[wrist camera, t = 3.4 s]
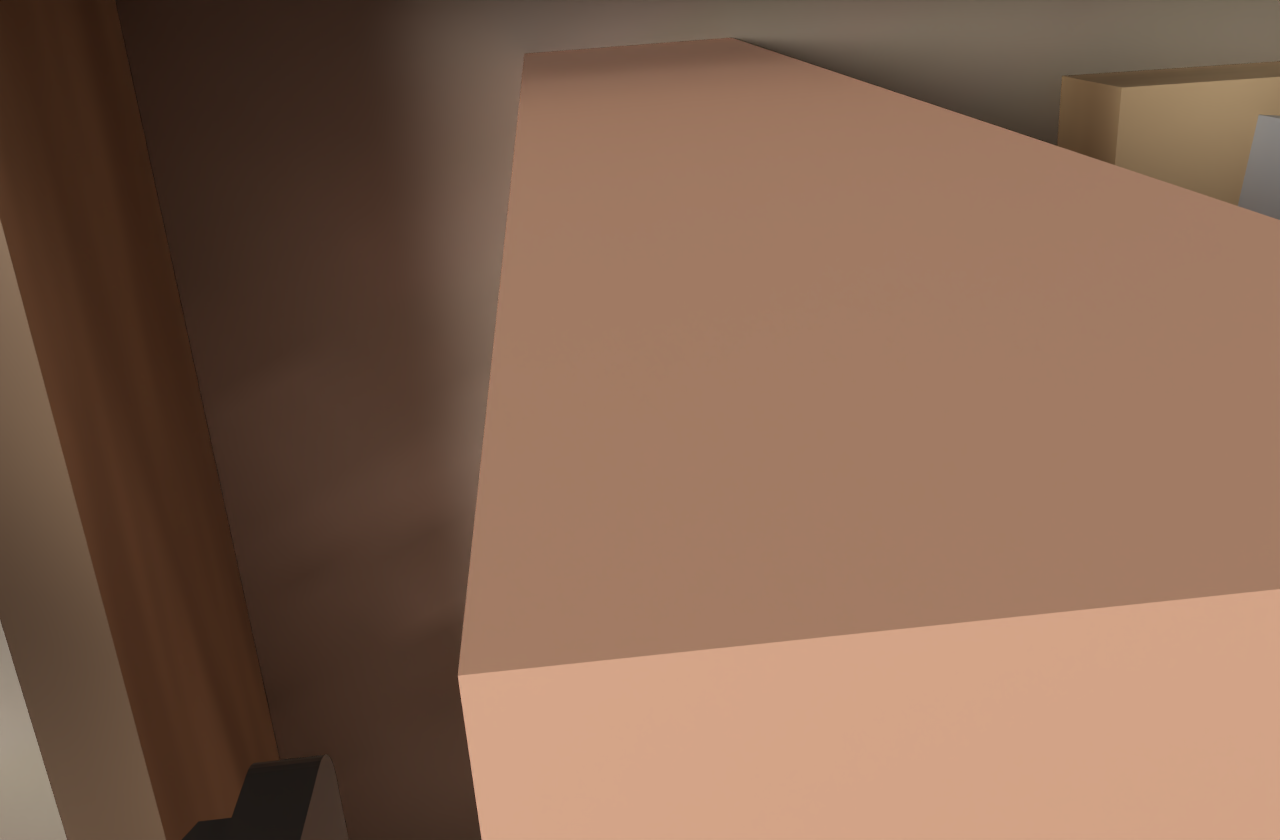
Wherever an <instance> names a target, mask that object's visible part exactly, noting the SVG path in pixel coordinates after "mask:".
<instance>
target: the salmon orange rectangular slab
mask: <svg viewBox="0 0 1280 840" xmlns="http://www.w3.org/2000/svg"><path fill="white" fill-rule="evenodd" d="M458 681H459V688H460V695H461V702H462V708H463V715H464V722H465V729H466V736H467V743H468V750H469V757H470V763H471V770H472V777H473V784H474V791H475V798H476V805H477V811H478V818H479V825H480V832H481V839H482V840H1280V220H1278V219H1275V218H1272V217H1269V216H1266V215H1263V214H1260V213H1257V212H1254V211H1251V210H1248V209H1245V208H1242V207H1239V206H1236V205H1233V204H1230V203H1227V202H1224V201H1221V200H1218V199H1215V198H1212V197H1209V196H1206V195H1203V194H1200V193H1197V192H1194V191H1191V190H1188V189H1185V188H1182V187H1179V186H1176V185H1173V184H1170V183H1167V182H1164V181H1161V180H1158V179H1155V178H1152V177H1149V176H1146V175H1143V174H1140V173H1137V172H1134V171H1131V170H1128V169H1125V168H1122V167H1119V166H1116V165H1113V164H1110V163H1107V162H1104V161H1101V160H1098V159H1095V158H1092V157H1089V156H1086V155H1083V154H1080V153H1077V152H1074V151H1071V150H1068V149H1065V148H1062V147H1059V146H1056V145H1053V144H1050V143H1047V142H1044V141H1041V140H1038V139H1035V138H1032V137H1029V136H1026V135H1023V134H1020V133H1017V132H1014V131H1011V130H1008V129H1005V128H1002V127H999V126H996V125H993V124H990V123H987V122H984V121H981V120H978V119H975V118H972V117H969V116H966V115H963V114H960V113H957V112H954V111H951V110H948V109H945V108H941V107H938V106H935V105H932V104H929V103H926V102H923V101H920V100H917V99H914V98H911V97H908V96H905V95H902V94H899V93H896V92H893V91H890V90H887V89H884V88H881V87H878V86H875V85H872V84H869V83H866V82H863V81H860V80H857V79H854V78H851V77H848V76H845V75H842V74H839V73H836V72H833V71H830V70H827V69H824V68H821V67H818V66H815V65H812V64H809V63H806V62H803V61H800V60H797V59H794V58H791V57H788V56H785V55H782V54H779V53H776V52H773V51H770V50H767V49H764V48H761V47H758V46H755V45H752V44H749V43H746V42H743V41H740V40H737V39H734V38H721V39H708V40H695V41H682V42H669V43H656V44H643V45H630V46H617V47H604V48H591V49H578V50H565V51H552V52H539V53H526V54H524V64H523V73H522V82H521V92H520V101H519V110H518V120H517V129H516V138H515V147H514V157H513V166H512V175H511V185H510V194H509V203H508V213H507V222H506V231H505V241H504V250H503V259H502V268H501V278H500V287H499V296H498V306H497V315H496V324H495V334H494V343H493V352H492V362H491V371H490V380H489V389H488V399H487V408H486V417H485V427H484V436H483V445H482V455H481V464H480V473H479V482H478V492H477V501H476V510H475V520H474V529H473V538H472V548H471V557H470V566H469V576H468V585H467V594H466V603H465V613H464V622H463V631H462V641H461V650H460V659H459V669H458Z"/></svg>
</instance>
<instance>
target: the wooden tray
mask: <svg viewBox="0 0 1280 840" xmlns="http://www.w3.org/2000/svg"><path fill="white" fill-rule="evenodd" d="M0 620H1V624H2V627H3V630H4V633H5V637H6V640H7V643H8V647H9V650H10V653H11V656H12V660H13V663H14V666H15V670H16V673H17V676H18V679H19V683H20V686H21V689H22V693H23V696H24V699H25V702H26V706H27V709H28V712H29V715H30V719H31V722H32V725H33V729H34V732H35V735H36V738H37V742H38V745H39V748H40V752H41V755H42V758H43V761H44V765H45V768H46V771H47V774H48V778H49V781H50V784H51V788H52V791H53V794H54V797H55V801H56V804H57V807H58V811H59V814H60V817H61V820H62V824H63V827H64V830H65V834H66V837H67V840H182V839H183V838H184V837H185V835H186V834H187V833H188V832H189V831H190V830H191V829H192V828H193V827H194V826H195V825H196V824H197V822H198V821H206V820H215V819H224V818H231V817H232V815H233V812H234V809H235V806H236V803H237V800H238V797H239V794H240V791H241V788H242V786H243V783H244V780H245V777H246V774H247V771H248V769H249V767H250V766H251V765H252V764H253V763H257V762H266V761H275V760H280V759H279V754H278V750H277V745H276V740H275V736H274V731H273V727H272V722H271V717H270V713H269V708H268V704H267V699H266V694H265V690H264V685H263V680H262V676H261V671H260V667H259V662H258V657H257V653H256V648H255V644H254V639H253V634H252V630H251V625H250V620H249V616H248V611H247V607H246V602H245V597H244V593H243V588H242V584H241V579H240V574H239V570H238V565H237V561H236V556H235V551H234V547H233V542H232V537H231V533H230V528H229V524H228V519H227V514H226V510H225V505H224V501H223V496H222V491H221V487H220V482H219V477H218V473H217V468H216V464H215V459H214V454H213V450H212V445H211V441H210V436H209V431H208V427H207V422H206V417H205V413H204V408H203V404H202V399H201V394H200V390H199V385H198V381H197V376H196V371H195V367H194V362H193V358H192V353H191V348H190V344H189V339H188V334H187V330H186V325H185V321H184V316H183V311H182V307H181V302H180V298H179V293H178V288H177V284H176V279H175V274H174V270H173V265H172V261H171V256H170V251H169V247H168V242H167V238H166V233H165V228H164V224H163V219H162V214H161V210H160V205H159V201H158V196H157V191H156V187H155V182H154V178H153V173H152V168H151V164H150V159H149V154H148V150H147V145H146V141H145V136H144V131H143V127H142V122H141V118H140V113H139V108H138V104H137V99H136V95H135V90H134V85H133V81H132V76H131V71H130V67H129V62H128V58H127V53H126V48H125V44H124V39H123V35H122V30H121V25H120V21H119V16H118V11H117V7H116V2H115V0H0Z"/></svg>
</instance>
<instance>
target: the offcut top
mask: <svg viewBox="0 0 1280 840" xmlns="http://www.w3.org/2000/svg"><path fill="white" fill-rule="evenodd" d="M1238 206H1239V207H1242V208H1245V209H1248V210H1251V211H1254V212H1257V213H1260V214H1263V215H1266V216H1269V217H1272V218H1275V219H1278V220H1280V116H1278V115H1259V116H1258V120H1257V124H1256V129H1255V133H1254V137H1253V142H1252V146H1251V150H1250V155H1249V159H1248V163H1247V168H1246V172H1245V176H1244V181H1243V185H1242V189H1241V194H1240V198H1239V202H1238Z"/></svg>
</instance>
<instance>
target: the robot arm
mask: <svg viewBox="0 0 1280 840" xmlns="http://www.w3.org/2000/svg"><path fill="white" fill-rule="evenodd" d="M182 840H349V839H348V834H347V829H346V824H345V819H344V814H343V809H342V804H341V799H340V794H339V788H338V783H337V778H336V774H335V769H334V766H333V763H332V760H331V758H330V757H329V756H328V755H320V756H311V757H302V758H293V759H284V760H275V761H266V762H257V763H253V764H252V765H251V766H250V767H249V769H248V771H247V774H246V777H245V780H244V783H243V786H242V788H241V791H240V794H239V797H238V800H237V803H236V806H235V809H234V812H233V815H232V817H231V818H224V819H215V820H206V821H198V822H197V824H196V825H195V826H194V827H193V828H192V829H191V830H190V831H189V832H188V833H187V834H186V835H185V837H184V838H183V839H182Z"/></svg>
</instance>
